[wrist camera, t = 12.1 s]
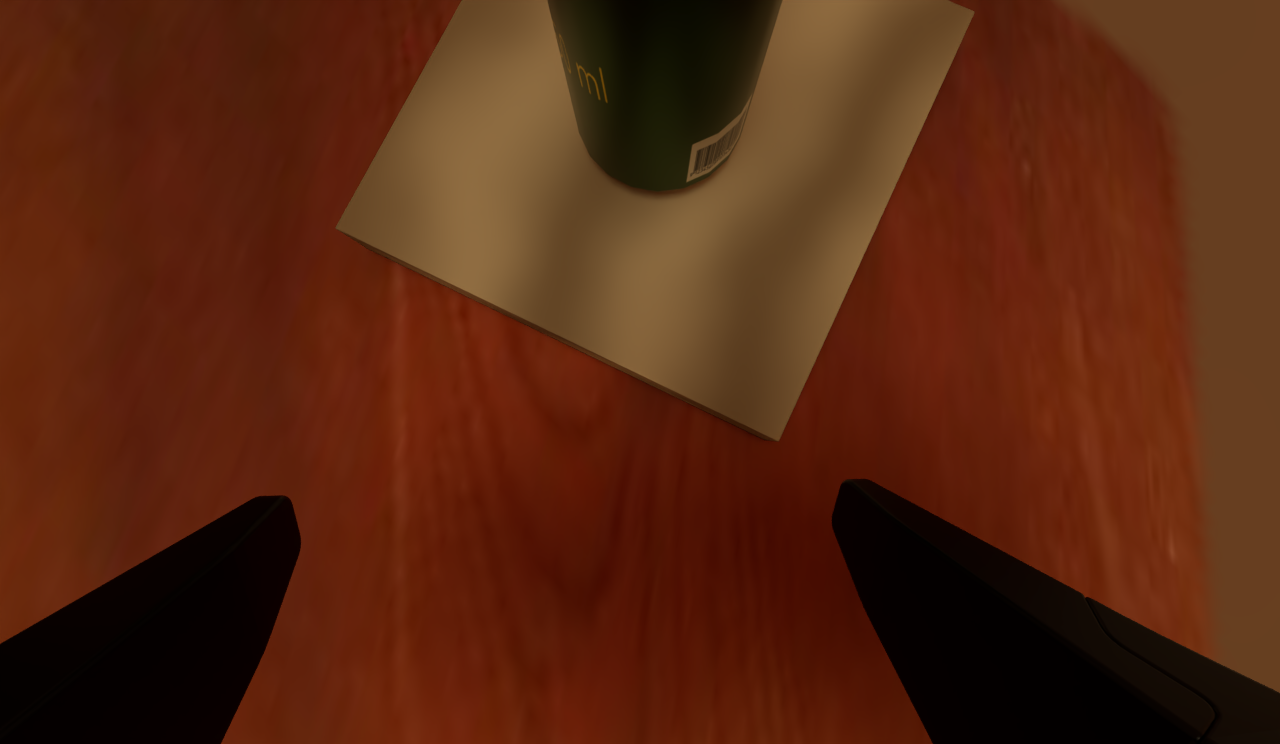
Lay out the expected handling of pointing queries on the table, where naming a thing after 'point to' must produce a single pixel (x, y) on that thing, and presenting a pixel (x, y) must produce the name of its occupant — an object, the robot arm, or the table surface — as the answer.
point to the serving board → (661, 198)
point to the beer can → (662, 82)
